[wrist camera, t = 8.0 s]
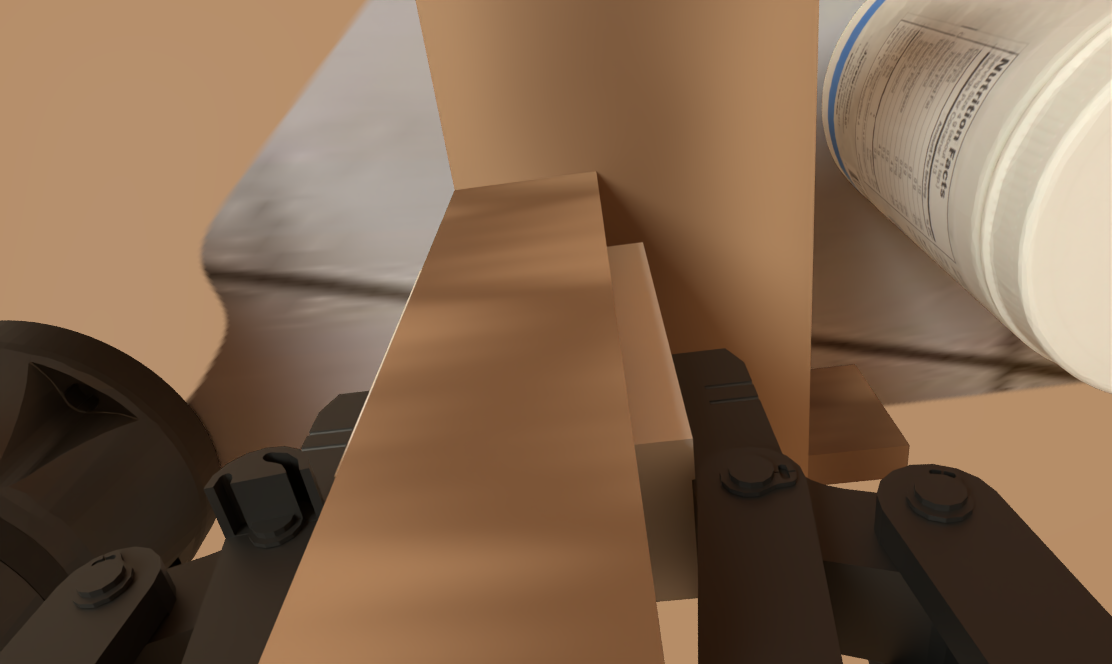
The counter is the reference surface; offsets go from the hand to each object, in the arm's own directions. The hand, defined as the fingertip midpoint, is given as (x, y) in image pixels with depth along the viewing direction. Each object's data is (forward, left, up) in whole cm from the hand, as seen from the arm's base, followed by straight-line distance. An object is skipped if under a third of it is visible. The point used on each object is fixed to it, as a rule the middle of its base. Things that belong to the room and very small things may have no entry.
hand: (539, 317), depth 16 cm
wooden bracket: (+4, 0, -6) cm, 7 cm away
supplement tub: (+15, 0, -15) cm, 21 cm away
